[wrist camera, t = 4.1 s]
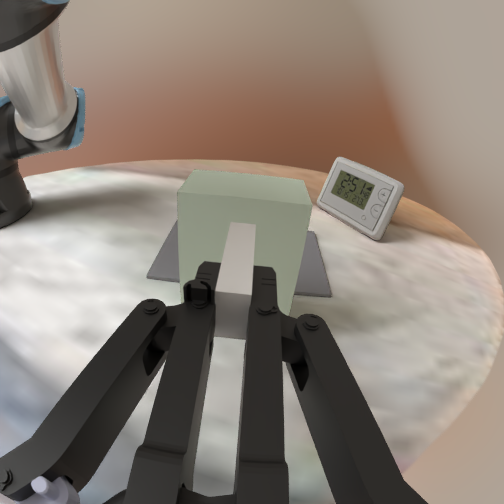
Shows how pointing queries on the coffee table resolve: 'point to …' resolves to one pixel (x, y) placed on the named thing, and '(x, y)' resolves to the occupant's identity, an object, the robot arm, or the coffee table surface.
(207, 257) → the sage block
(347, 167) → the digital clock
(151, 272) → the felt pad
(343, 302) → the coffee table surface
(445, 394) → the coffee table surface
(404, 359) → the coffee table surface
